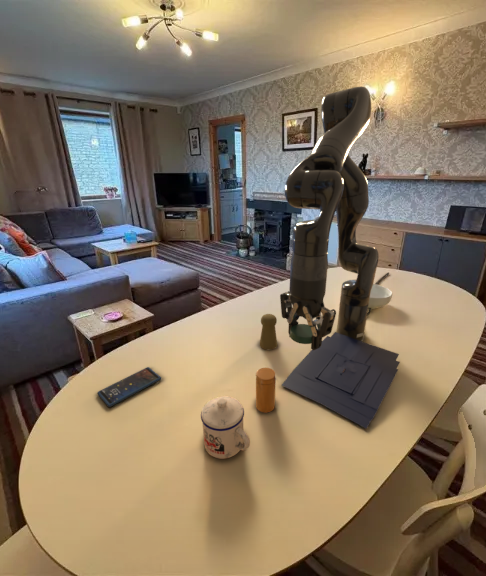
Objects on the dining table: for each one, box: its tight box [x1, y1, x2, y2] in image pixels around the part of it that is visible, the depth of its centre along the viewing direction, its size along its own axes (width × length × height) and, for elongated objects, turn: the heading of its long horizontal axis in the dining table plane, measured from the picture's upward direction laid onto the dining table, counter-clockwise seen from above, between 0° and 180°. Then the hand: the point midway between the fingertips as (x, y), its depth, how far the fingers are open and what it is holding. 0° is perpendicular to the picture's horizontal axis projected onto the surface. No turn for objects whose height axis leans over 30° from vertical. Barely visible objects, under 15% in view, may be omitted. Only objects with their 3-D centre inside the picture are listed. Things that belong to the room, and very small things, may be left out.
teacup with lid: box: [200, 395, 251, 460], centre depth 65 cm, size 12×9×12 cm
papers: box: [281, 331, 401, 429], centre depth 88 cm, size 24×30×4 cm
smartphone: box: [96, 366, 162, 408], centre depth 84 cm, size 8×1×15 cm
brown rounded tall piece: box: [259, 313, 278, 351], centre depth 102 cm, size 6×6×11 cm
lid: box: [289, 323, 313, 345], centre depth 69 cm, size 6×6×2 cm
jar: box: [255, 367, 277, 413], centre depth 76 cm, size 5×5×10 cm
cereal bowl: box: [368, 283, 393, 310], centre depth 131 cm, size 17×17×7 cm
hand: (303, 342), depth 70 cm, fingers closed on lid, 6 cm apart
